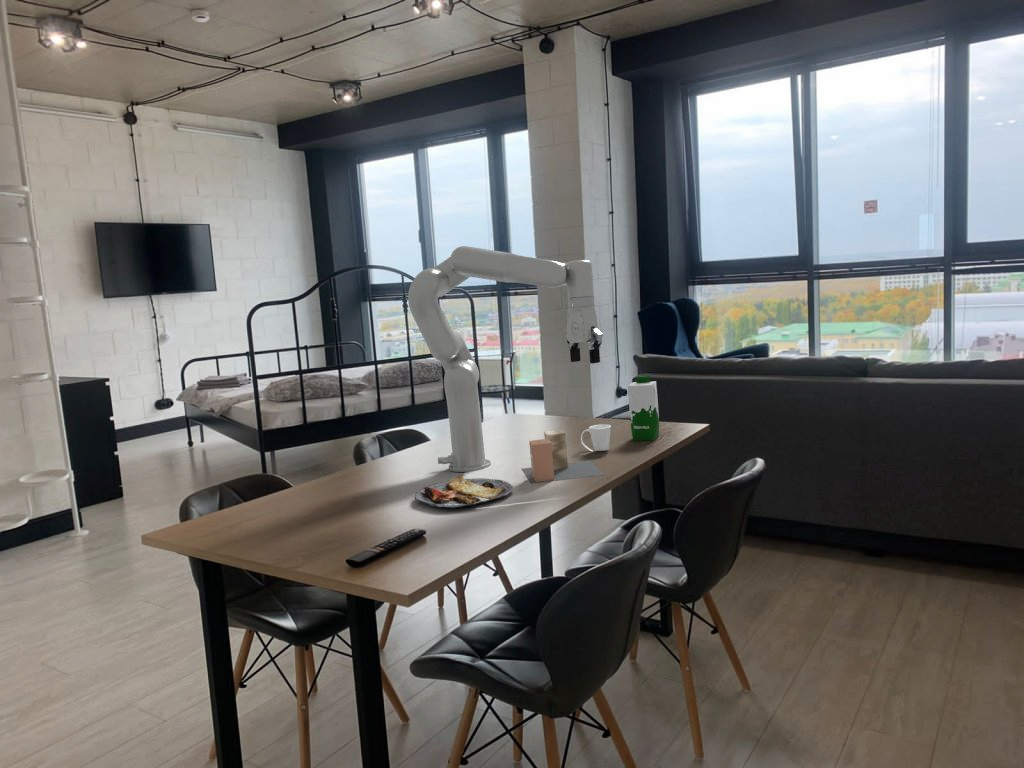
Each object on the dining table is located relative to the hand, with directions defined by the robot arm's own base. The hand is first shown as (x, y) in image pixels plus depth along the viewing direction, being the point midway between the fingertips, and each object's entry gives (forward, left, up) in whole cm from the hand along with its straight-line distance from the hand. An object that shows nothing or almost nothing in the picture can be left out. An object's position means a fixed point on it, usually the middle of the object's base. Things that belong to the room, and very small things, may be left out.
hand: (585, 362), depth 224 cm
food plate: (-40, -27, -29) cm, 56 cm away
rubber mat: (-12, -14, -29) cm, 34 cm away
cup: (+3, +6, -29) cm, 30 cm away
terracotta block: (-18, -19, -28) cm, 38 cm away
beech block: (-12, -8, -28) cm, 32 cm away
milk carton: (+22, +18, -29) cm, 40 cm away
